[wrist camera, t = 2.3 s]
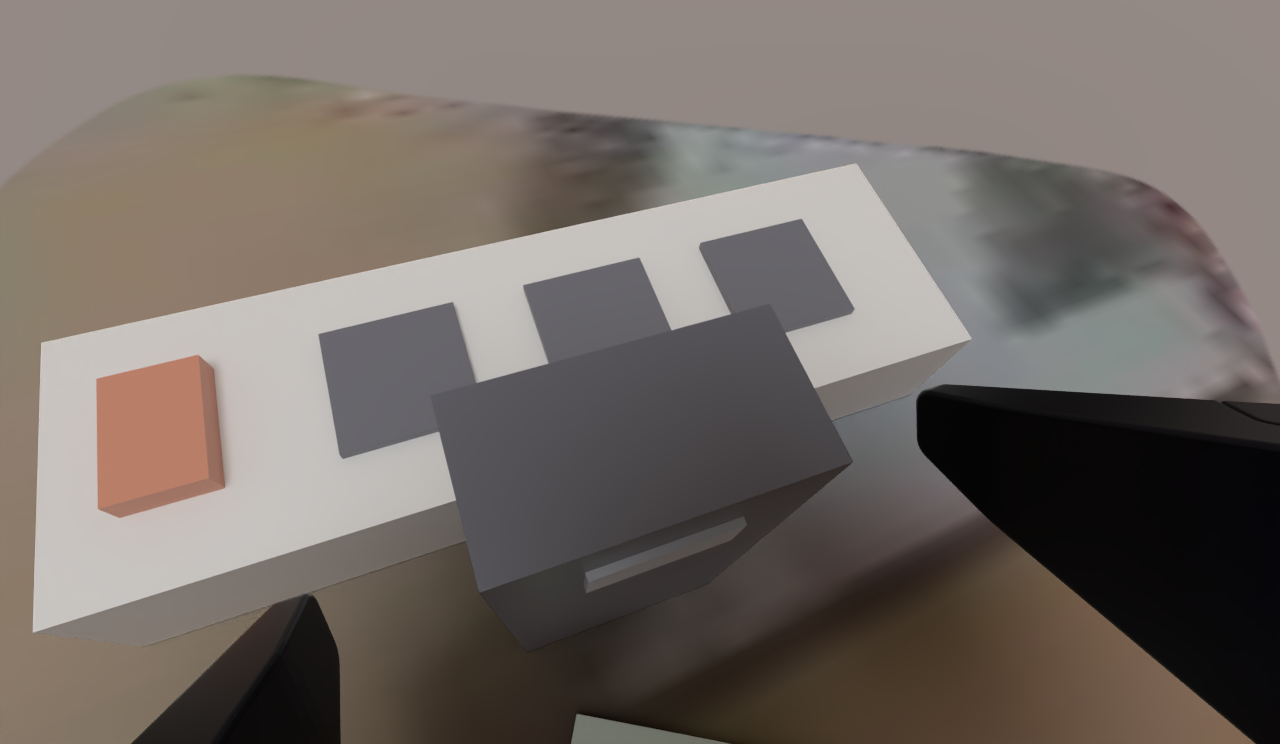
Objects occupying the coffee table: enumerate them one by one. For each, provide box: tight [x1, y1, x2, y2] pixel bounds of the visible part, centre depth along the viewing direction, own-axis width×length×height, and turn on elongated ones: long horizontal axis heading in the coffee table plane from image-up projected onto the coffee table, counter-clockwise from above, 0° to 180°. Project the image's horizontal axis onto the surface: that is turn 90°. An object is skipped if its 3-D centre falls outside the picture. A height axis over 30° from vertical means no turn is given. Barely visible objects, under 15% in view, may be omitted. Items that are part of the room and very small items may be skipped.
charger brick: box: [430, 304, 853, 652], centre depth 13 cm, size 3×5×10 cm, turn 110°
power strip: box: [33, 164, 972, 647], centre depth 17 cm, size 22×7×4 cm, turn 110°
